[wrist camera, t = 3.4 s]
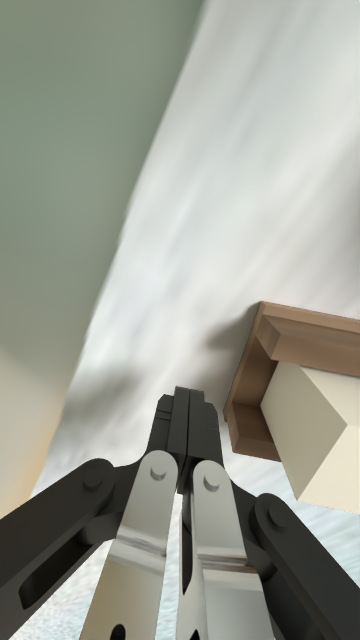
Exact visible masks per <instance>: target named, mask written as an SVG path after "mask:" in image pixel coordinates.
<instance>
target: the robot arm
mask: <svg viewBox="0 0 360 640" xmlns="http://www.w3.org/2000/svg"><path fill="white" fill-rule="evenodd" d="M176 488H177V494H182V495H183V502H182V510H181V513H180V519H179V602H178V610H177V620H176V640H275V639H276V640H360V588H359V587H358V586H357V585H356V583H355V582H354V581H353V580H352V579H351V578H350V577H349V575H348V574H347V573H346V572H345V571H344V570H343V569H342V567H341V566H340V565H339V564H338V563H337V562H336V560H335V559H334V558H333V557H332V556H331V555H330V554H329V552H328V551H327V550H326V549H325V548H324V547H323V546H322V544H321V543H320V542H319V541H318V540H317V539H316V537H315V536H314V535H313V534H312V533H311V532H310V531H309V529H308V528H307V527H306V526H305V525H304V524H303V523H302V521H301V520H300V519H299V518H298V517H297V516H296V514H295V513H294V512H293V511H292V510H291V509H290V508H289V506H288V505H287V504H286V503H285V502H284V501H283V500H281V499H280V498H279V497H277V496H275V495H273V494H270V493H263V494H261V495H259V496H258V497H255V496H253V495H252V494H250V493H248V492H247V491H245V490H243V489H241V488H240V487H238V486H237V485H236V484H235V483H234V482H233V481H232V480H231V479H230V478H229V475H228V474H227V472H226V471H225V468H224V464H223V457H222V449H221V440H220V432H219V424H218V415H217V411H216V410H215V408H214V406H213V404H211V403H206V402H204V392H203V391H199V390H194V389H190V390H189V389H188V388H183V387H178V386H176V387H175V391H174V396H171V395H166V394H164V395H163V396H162V397H161V398H160V399H159V401H158V404H157V408H156V413H155V417H154V421H153V425H152V429H151V433H150V437H149V441H148V446H147V449H146V451H145V453H144V455H143V456H142V457H141V458H140V459H139V460H138V461H137V462H135V463H133V464H130V465H126V466H120V467H114V466H113V465H112V464H111V463H110V462H109V461H108V460H105V459H101V458H97V459H92V460H89V461H87V462H85V463H84V464H82V465H81V466H79V467H78V468H76V469H75V470H73V471H72V472H70V473H69V474H67V475H66V476H64V477H63V478H61V479H60V480H58V481H57V482H55V483H54V484H52V485H51V486H49V487H48V488H46V489H45V490H43V491H42V492H40V493H39V494H37V495H36V496H35V497H33V498H32V499H30V500H29V501H27V502H26V503H24V504H23V505H21V506H20V507H18V508H17V509H15V510H14V511H12V512H11V513H9V514H8V515H6V516H5V517H3V518H2V519H0V640H9V638H10V637H11V636H12V635H13V634H14V633H15V632H16V631H17V630H18V629H19V628H20V627H21V626H22V625H23V624H24V623H25V622H26V621H27V620H28V619H29V618H30V617H31V616H32V615H33V614H34V613H35V612H36V611H37V610H38V609H39V608H40V607H41V606H42V605H43V604H44V603H45V602H46V601H47V600H48V599H49V598H50V597H51V595H52V594H53V593H54V592H55V591H56V590H57V589H58V588H59V587H60V586H61V585H62V584H63V583H64V582H65V581H66V580H67V579H68V578H69V577H70V576H71V575H72V574H73V573H74V572H75V571H76V570H77V569H78V568H79V567H80V566H81V565H82V564H83V563H84V562H85V561H86V560H87V559H88V558H89V557H90V556H91V555H92V554H93V553H94V551H95V550H96V549H97V548H98V547H99V546H100V545H101V544H102V543H103V542H104V541H108V540H112V539H114V540H113V542H112V544H111V547H110V549H109V552H108V555H107V558H106V561H105V564H104V567H103V570H102V573H101V576H100V578H99V581H98V584H97V587H96V590H95V593H94V596H93V599H92V602H91V605H90V608H89V611H88V614H87V617H86V620H85V623H84V625H83V628H82V631H81V634H80V637H79V640H155V634H156V627H157V620H158V613H159V606H160V600H161V593H162V586H163V579H164V572H165V565H166V548H167V541H168V534H169V528H170V521H171V515H172V508H173V502H174V495H175V492H176ZM274 638H275V639H274Z"/></svg>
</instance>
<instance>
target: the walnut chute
mask: <svg viewBox="0 0 360 640" xmlns="http://www.w3.org/2000/svg"><path fill="white" fill-rule="evenodd" d="M279 361H282V362H287V363H292V364H298V365H303V366H308V367H313V368H318V369H323V370H328V371H333V372H338V373H343V374H348V375H353V376H358V377H360V320H356V319H351V318H346V317H341V316H336V315H331V314H326V313H321V312H315V311H310V310H305V309H300V308H295V307H290V306H285V305H280V304H275V303H269V302H264V301H261V303H260V305H259V308H258V311H257V314H256V317H255V320H254V323H253V326H252V329H251V332H250V335H249V338H248V341H247V344H246V346H245V349H244V352H243V355H242V358H241V361H240V364H239V367H238V370H237V373H236V376H235V379H234V382H233V385H232V387H231V390H230V393H229V396H228V399H227V402H226V405H225V408H224V411H223V414H224V421H225V422H228V427H229V433H230V439H231V445H232V451H233V453H238V454H243V455H248V456H253V457H258V458H263V459H268V460H273V461H278V462H282V461H281V459H280V456H279V454H278V451H277V448H276V446H275V443H274V441H273V438H272V435H271V433H270V430H269V428H268V425H267V422H266V420H265V417H264V415H263V412H262V410H261V407H260V405H261V402H262V400H263V398H264V395H265V393H266V391H267V388H268V386H269V383H270V381H271V379H272V376H273V374H274V372H275V369H276V367H277V365H278V362H279Z"/></svg>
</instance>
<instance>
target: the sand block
mask: <svg viewBox="0 0 360 640" xmlns="http://www.w3.org/2000/svg"><path fill="white" fill-rule="evenodd" d="M260 407H261V410H262V412H263V415H264V417H265V420H266V422H267V425H268V428H269V430H270V433H271V435H272V438H273V441H274V443H275V446H276V448H277V451H278V454H279V456H280V459H281V461H282V464H283V466H284V469H285V472H286V474H287V477H288V479H289V482H290V485H291V487H292V490H293V492H294V495H295V498H296V500H297V501H298V502H303V503H308V504H312V505H317V506H322V507H327V508H332V509H337V510H342V511H347V512H352V513H357V514H360V377H358V376H353V375H348V374H343V373H338V372H333V371H328V370H323V369H318V368H313V367H308V366H303V365H298V364H292V363H287V362H282V361H279V362H278V365H277V367H276V369H275V372H274V374H273V376H272V379H271V381H270V383H269V386H268V388H267V391H266V393H265V395H264V398H263V400H262V402H261V405H260Z"/></svg>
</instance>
